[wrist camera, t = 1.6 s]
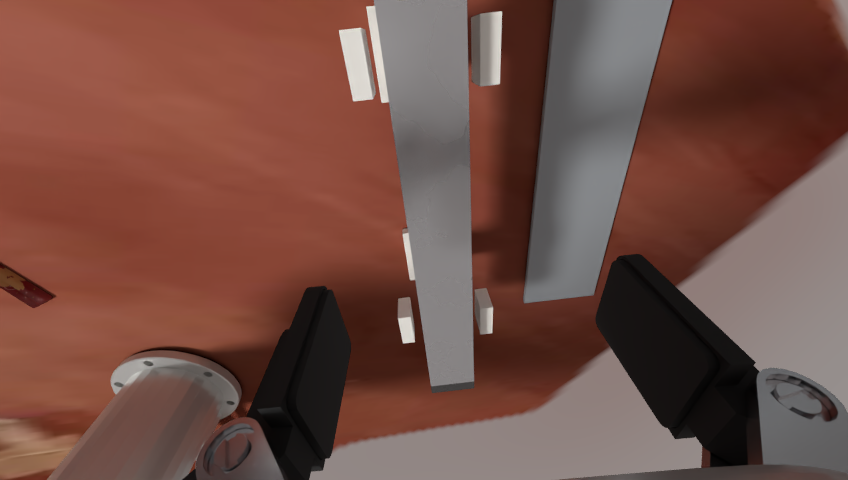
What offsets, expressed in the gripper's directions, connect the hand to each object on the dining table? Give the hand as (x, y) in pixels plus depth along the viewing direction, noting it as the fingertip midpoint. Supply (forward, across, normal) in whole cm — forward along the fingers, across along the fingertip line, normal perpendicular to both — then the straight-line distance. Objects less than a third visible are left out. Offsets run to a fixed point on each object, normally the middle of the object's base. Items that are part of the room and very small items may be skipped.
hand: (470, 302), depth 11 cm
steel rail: (+8, +1, 0) cm, 8 cm away
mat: (+15, -11, +3) cm, 19 cm away
